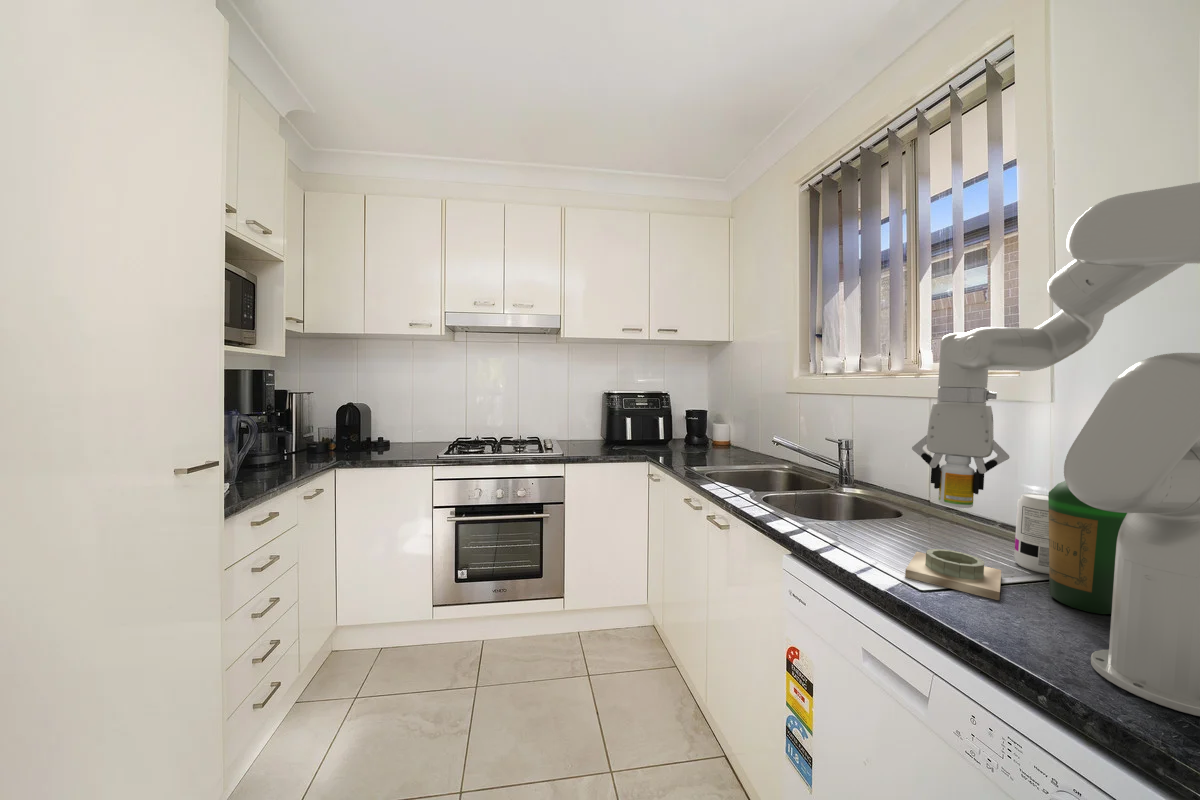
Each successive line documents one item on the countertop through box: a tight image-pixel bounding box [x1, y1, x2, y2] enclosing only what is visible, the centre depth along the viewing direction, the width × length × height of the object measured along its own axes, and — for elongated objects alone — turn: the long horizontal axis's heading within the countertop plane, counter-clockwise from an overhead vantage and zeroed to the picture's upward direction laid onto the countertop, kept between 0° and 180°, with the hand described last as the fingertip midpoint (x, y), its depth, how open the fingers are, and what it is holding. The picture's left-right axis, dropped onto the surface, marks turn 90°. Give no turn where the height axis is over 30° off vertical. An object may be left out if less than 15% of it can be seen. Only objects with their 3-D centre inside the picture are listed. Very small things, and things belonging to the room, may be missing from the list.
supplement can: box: [1013, 492, 1049, 575], centre depth 98 cm, size 8×8×15 cm
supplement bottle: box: [938, 455, 976, 509], centre depth 91 cm, size 5×5×10 cm
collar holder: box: [904, 548, 1002, 601], centre depth 92 cm, size 14×14×4 cm
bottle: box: [1047, 480, 1127, 615], centre depth 81 cm, size 11×11×28 cm
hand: (956, 489), depth 91 cm, fingers closed on supplement bottle, 5 cm apart
